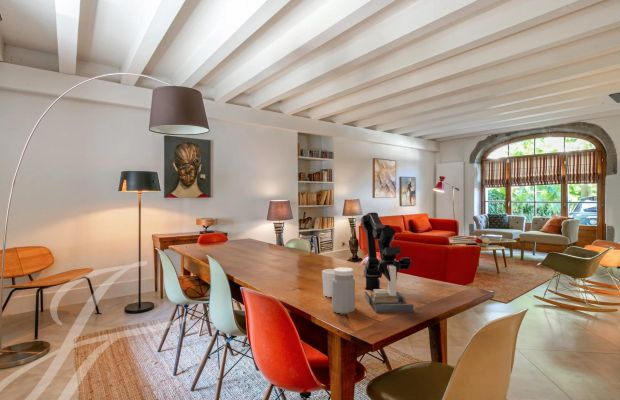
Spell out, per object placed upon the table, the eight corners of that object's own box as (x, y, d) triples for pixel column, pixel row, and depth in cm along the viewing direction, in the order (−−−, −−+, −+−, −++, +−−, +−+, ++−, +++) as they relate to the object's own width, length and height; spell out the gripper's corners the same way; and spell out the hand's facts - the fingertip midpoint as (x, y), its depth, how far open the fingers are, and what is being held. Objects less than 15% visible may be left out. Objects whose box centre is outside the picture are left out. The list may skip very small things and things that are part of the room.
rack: (364, 299, 156) (364, 291, 156) (398, 298, 157) (398, 290, 157) (375, 315, 136) (375, 305, 136) (413, 314, 137) (413, 304, 137)
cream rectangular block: (387, 292, 142) (387, 264, 142) (392, 292, 142) (392, 264, 142) (390, 295, 138) (390, 267, 138) (395, 295, 138) (396, 267, 138)
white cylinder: (344, 293, 165) (344, 269, 165) (337, 299, 156) (337, 274, 156) (326, 291, 169) (326, 268, 169) (318, 296, 160) (318, 272, 160)
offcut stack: (370, 298, 155) (370, 289, 154) (393, 297, 155) (393, 288, 155) (374, 302, 148) (374, 293, 148) (398, 302, 148) (398, 293, 148)
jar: (358, 313, 137) (358, 271, 137) (336, 316, 134) (336, 272, 134) (349, 306, 146) (349, 266, 146) (328, 308, 144) (328, 267, 143)
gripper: (368, 239, 143) (374, 270, 132) (410, 239, 144) (419, 270, 133) (364, 254, 151) (369, 284, 140) (403, 253, 152) (412, 284, 141)
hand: (392, 280), depth 139 cm, fingers closed on cream rectangular block, 2 cm apart
